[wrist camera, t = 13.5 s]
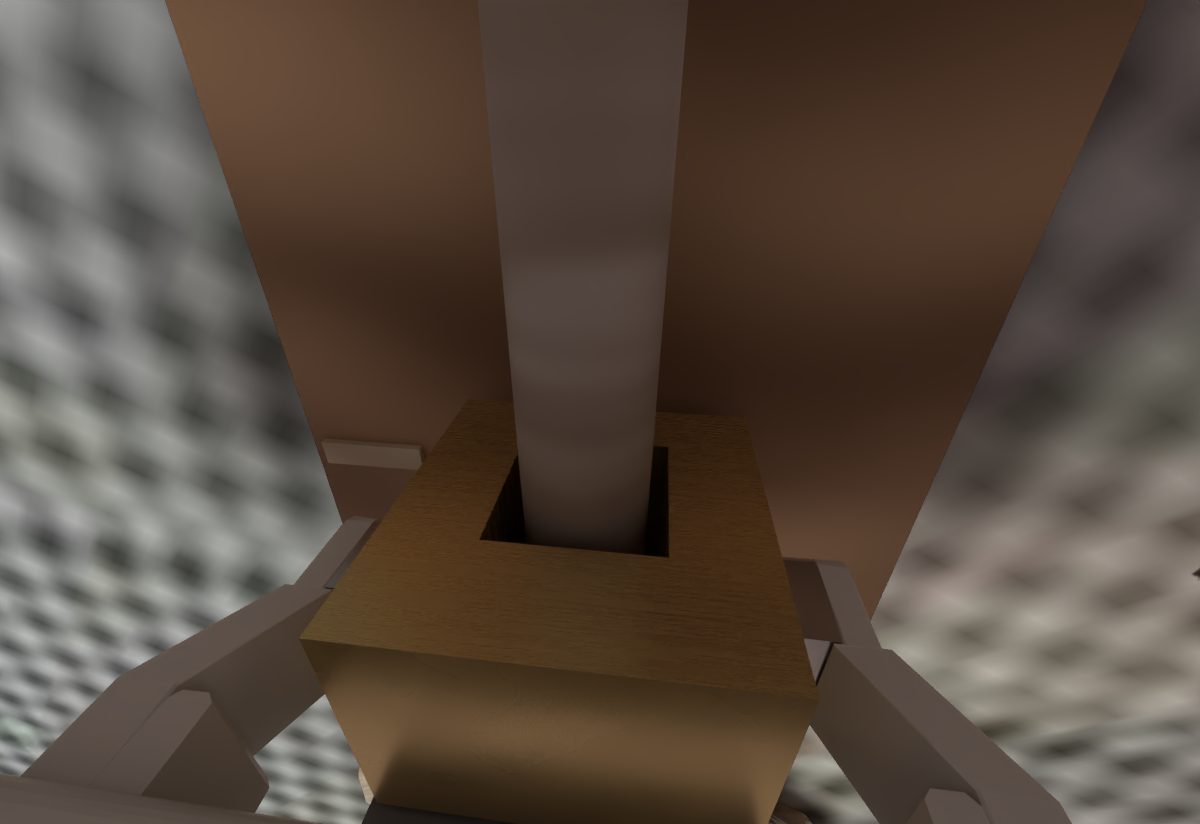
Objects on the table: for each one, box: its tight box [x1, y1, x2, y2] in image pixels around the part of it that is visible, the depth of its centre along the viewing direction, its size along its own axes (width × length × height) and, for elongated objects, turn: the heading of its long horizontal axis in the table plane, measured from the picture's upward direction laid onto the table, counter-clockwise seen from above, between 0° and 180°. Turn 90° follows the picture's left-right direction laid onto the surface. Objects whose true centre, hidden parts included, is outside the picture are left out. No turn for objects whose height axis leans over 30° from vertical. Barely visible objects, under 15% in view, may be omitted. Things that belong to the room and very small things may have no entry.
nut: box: [299, 399, 820, 824], centre depth 9 cm, size 4×6×6 cm
